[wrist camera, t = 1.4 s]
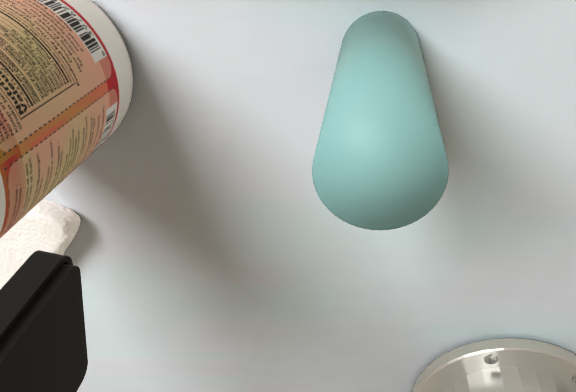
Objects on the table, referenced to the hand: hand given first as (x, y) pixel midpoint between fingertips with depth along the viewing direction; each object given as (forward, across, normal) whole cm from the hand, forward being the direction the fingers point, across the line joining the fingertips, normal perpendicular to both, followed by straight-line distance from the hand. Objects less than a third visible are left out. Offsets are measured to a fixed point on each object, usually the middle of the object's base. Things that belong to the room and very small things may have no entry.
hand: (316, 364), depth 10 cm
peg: (+20, -1, 0) cm, 20 cm away
